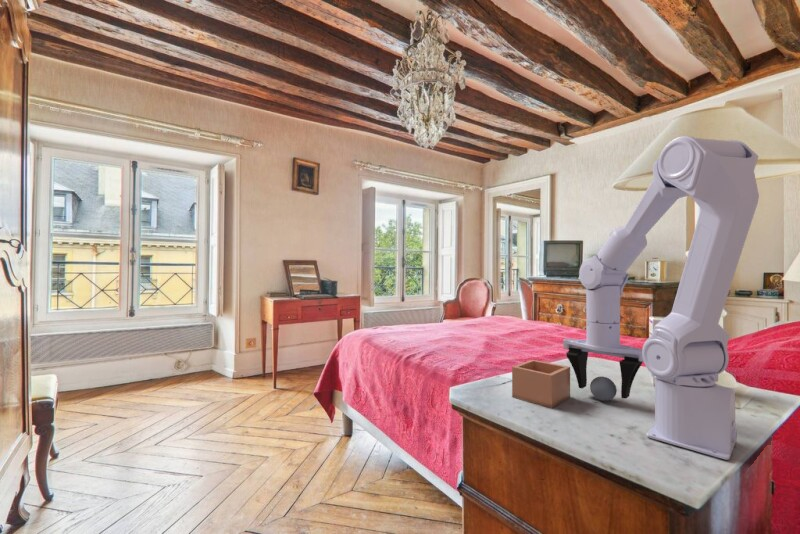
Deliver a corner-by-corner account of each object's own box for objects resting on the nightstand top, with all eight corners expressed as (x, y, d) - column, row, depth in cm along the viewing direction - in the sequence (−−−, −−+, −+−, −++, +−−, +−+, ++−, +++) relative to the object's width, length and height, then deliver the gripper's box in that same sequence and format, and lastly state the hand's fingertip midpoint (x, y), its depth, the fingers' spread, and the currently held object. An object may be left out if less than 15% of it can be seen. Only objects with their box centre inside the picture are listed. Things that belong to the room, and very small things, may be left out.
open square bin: (570, 397, 73) (570, 367, 73) (551, 408, 68) (551, 375, 68) (532, 387, 79) (532, 359, 79) (512, 397, 74) (512, 366, 74)
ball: (620, 400, 72) (620, 377, 72) (611, 406, 69) (611, 382, 69) (595, 394, 75) (595, 372, 75) (586, 400, 72) (586, 376, 72)
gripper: (653, 323, 69) (653, 396, 69) (573, 315, 80) (573, 379, 80) (641, 328, 64) (641, 406, 64) (558, 319, 75) (558, 386, 75)
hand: (603, 391), depth 72 cm, fingers open, 7 cm apart
